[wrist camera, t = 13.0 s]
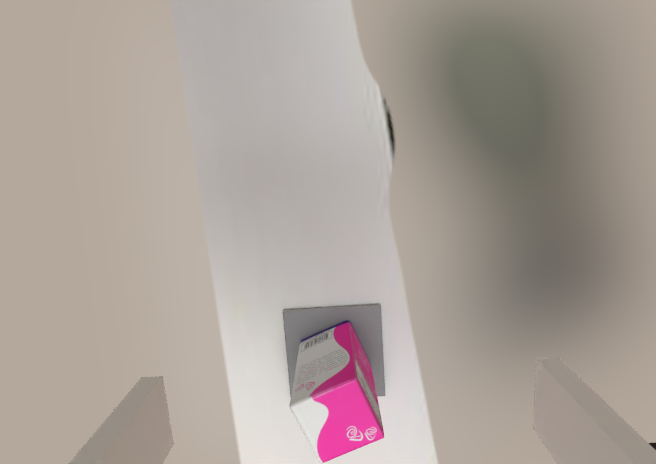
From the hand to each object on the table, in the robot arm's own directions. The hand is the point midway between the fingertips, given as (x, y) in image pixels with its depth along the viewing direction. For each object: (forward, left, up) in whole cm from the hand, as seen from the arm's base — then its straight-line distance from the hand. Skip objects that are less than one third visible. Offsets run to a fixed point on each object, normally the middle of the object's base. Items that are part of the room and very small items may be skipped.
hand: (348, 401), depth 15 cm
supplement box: (+11, -1, -27) cm, 29 cm away
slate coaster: (+12, -1, -27) cm, 30 cm away
